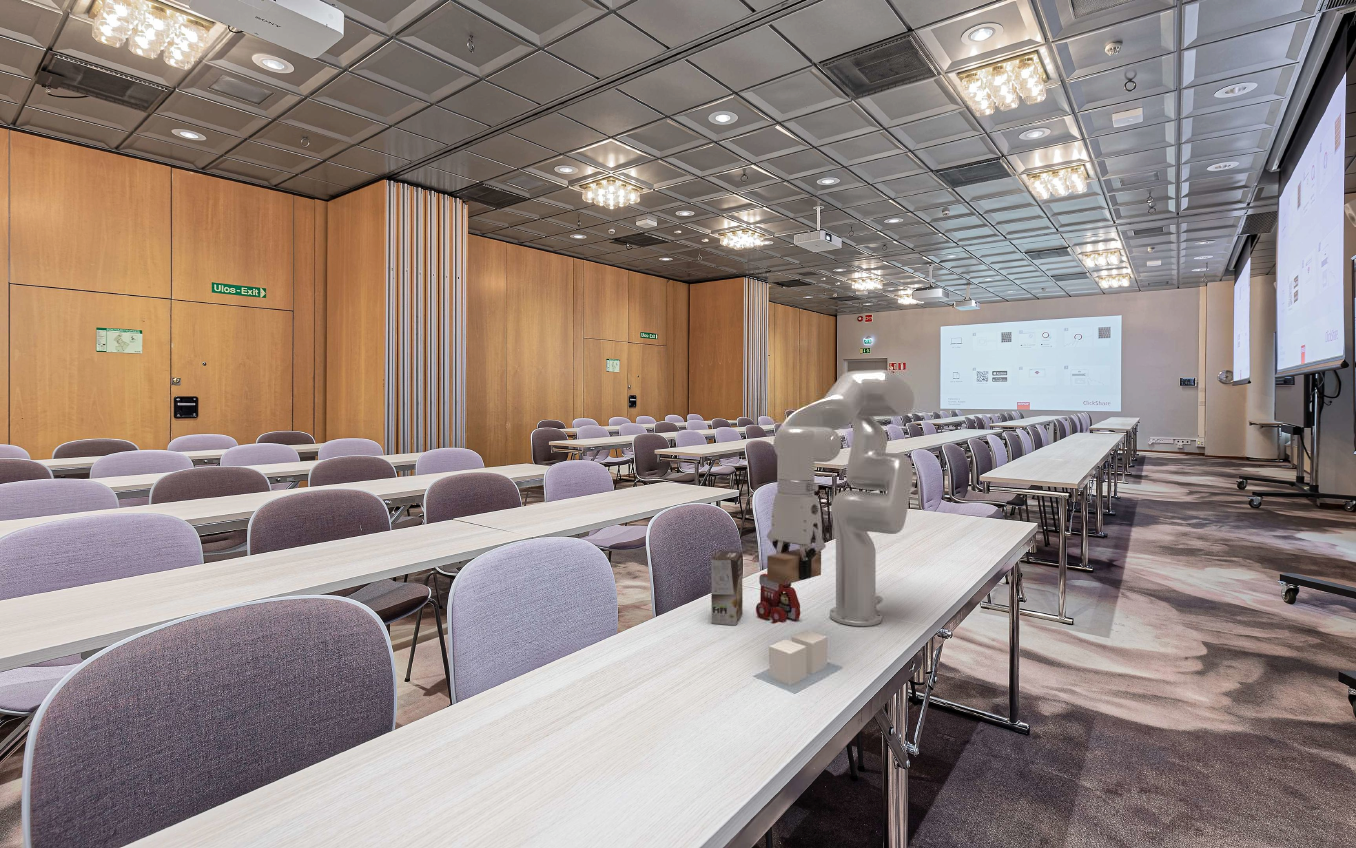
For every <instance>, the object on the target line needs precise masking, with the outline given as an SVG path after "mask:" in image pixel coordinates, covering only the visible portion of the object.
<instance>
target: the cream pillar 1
mask: <svg viewBox="0 0 1356 848" xmlns="http://www.w3.org/2000/svg"><path fill="white" fill-rule="evenodd" d="M768 649H769V650H768V651H769V654H768V656H769V663H768V665H769V668H768V669H769V677H771V678H773V679H776V680H778V681H780V682H783V683H785V684H788V685H790V686H791V685H793V684H795V683H797V682H798V681H800V680H802V679H804V678H806V646H803V645H801V644H798V643H795V642H792V640H790V639H789V640H788V639H783V640H781V641H779V642H776V643H773V644H771V645H768Z"/></svg>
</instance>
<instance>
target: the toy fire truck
mask: <svg viewBox="0 0 1356 848" xmlns="http://www.w3.org/2000/svg"><path fill="white" fill-rule="evenodd" d="M758 579H759V585H760V597H759V598H760V599H759V602H758V603H757V604H756V607H755V613H756V615H757V617H758V618H760V619H761V618H762V619H761V620H766V619H768V618H771V621H772V622H773V623H774V624H776V623H784V622H786V621H787V619H790V620H792V621H796V620H799V619H800V617H801V613H802V611H801V605H800V601H799V597H798V595H797V591H796V589H795V588H794V587H792V583H790V584H787V585H783V584H779V583H775V582H771V581H768V580H767V573H762V574H759V578H758Z"/></svg>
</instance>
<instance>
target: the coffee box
mask: <svg viewBox="0 0 1356 848" xmlns="http://www.w3.org/2000/svg"><path fill="white" fill-rule="evenodd" d="M710 562H711V563H710V564H711V567H710V569H711V571H710V572H711V579H710V581H711V583H710V584H711V587H710V588H711V590H710V591H711V595H710V596H711V600H710V601H711V624H714V625H715V624H716V625H727V626H737V624H738V622H739V620H740V619H741V617H742V615H743V611H744V610H743V609H744V608H743V598H744V597H743V591H744V590H743V551H735V550H718V551H717V552H716V553H715V554H714V555H713V556H712V557H711V558H710Z"/></svg>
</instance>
